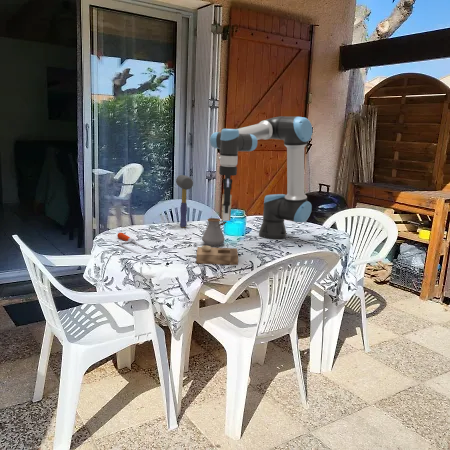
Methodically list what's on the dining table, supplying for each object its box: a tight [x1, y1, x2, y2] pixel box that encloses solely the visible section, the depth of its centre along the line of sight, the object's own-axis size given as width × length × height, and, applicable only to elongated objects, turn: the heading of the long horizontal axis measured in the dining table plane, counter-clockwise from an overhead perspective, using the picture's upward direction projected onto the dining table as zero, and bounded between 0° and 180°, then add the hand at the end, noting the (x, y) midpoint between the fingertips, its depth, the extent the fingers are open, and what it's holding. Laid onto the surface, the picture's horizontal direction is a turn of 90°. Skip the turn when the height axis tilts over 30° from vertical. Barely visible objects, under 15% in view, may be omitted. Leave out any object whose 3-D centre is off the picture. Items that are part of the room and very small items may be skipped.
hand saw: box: [116, 232, 157, 255], centre depth 223 cm, size 33×3×10 cm
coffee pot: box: [201, 217, 227, 247], centre depth 226 cm, size 21×12×15 cm, turn 22°
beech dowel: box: [220, 193, 233, 222], centre depth 201 cm, size 4×4×11 cm
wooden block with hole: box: [195, 244, 239, 266], centre depth 205 cm, size 18×12×6 cm, turn 91°
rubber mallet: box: [175, 174, 194, 229], centre depth 261 cm, size 12×8×30 cm, turn 21°
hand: (225, 219), depth 202 cm, fingers closed on beech dowel, 4 cm apart
